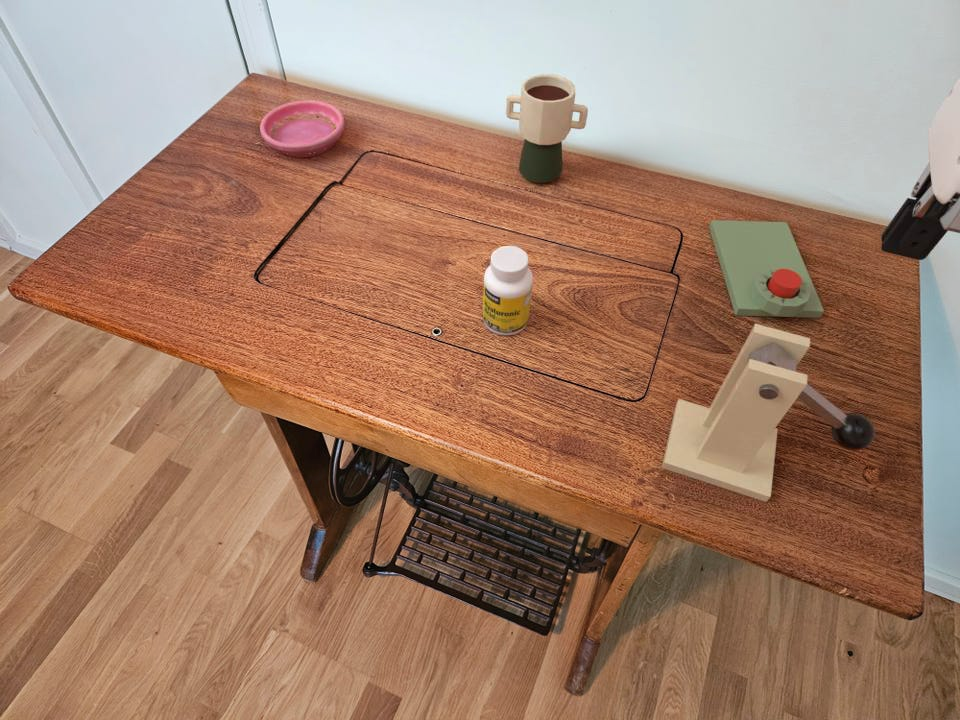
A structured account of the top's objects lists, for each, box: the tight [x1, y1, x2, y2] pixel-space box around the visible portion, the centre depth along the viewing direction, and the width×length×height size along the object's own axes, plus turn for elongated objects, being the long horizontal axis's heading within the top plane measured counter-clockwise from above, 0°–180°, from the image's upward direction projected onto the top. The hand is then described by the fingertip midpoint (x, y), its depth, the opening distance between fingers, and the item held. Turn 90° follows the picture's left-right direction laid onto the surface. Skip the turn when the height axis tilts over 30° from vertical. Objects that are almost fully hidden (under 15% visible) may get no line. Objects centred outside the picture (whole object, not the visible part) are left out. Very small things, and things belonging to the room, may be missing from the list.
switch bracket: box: [661, 323, 811, 503], centre depth 56 cm, size 10×8×16 cm
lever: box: [748, 342, 876, 451], centre depth 52 cm, size 13×3×3 cm, turn 69°
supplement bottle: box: [482, 245, 534, 336], centre depth 69 cm, size 5×5×10 cm
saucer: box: [259, 99, 346, 158], centre depth 93 cm, size 12×12×3 cm
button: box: [768, 269, 802, 299], centre depth 72 cm, size 3×3×2 cm
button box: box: [708, 219, 825, 319], centre depth 77 cm, size 17×10×3 cm, turn 178°
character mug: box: [505, 73, 589, 184], centre depth 85 cm, size 11×7×13 cm, turn 75°
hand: (901, 248), depth 49 cm, fingers closed
